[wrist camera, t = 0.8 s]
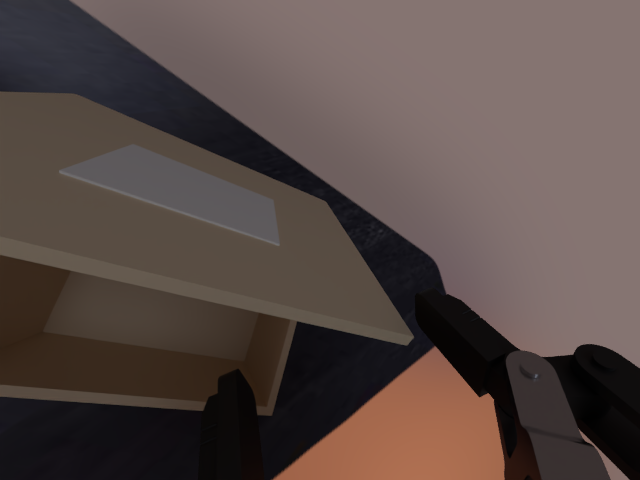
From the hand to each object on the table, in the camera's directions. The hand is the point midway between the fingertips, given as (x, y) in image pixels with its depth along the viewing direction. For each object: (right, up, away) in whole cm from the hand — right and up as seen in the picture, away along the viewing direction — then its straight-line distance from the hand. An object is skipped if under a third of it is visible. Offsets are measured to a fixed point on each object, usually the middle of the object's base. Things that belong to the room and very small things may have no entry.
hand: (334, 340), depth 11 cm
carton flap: (-7, +7, +3) cm, 10 cm away
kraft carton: (-16, +1, +19) cm, 25 cm away
